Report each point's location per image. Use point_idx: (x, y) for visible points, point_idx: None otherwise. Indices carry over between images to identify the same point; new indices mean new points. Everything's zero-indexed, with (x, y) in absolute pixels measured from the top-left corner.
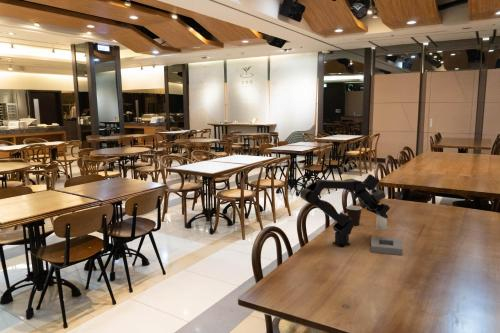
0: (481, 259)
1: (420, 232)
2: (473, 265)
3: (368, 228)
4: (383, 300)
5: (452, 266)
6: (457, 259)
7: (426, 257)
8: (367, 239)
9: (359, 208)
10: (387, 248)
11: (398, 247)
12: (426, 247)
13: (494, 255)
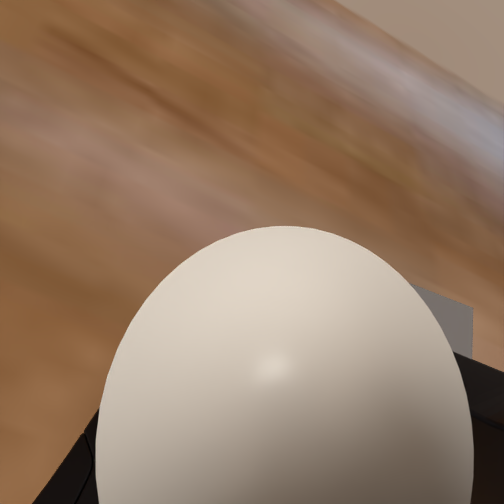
0: (428, 82)
1: (163, 100)
2: (476, 125)
3: (5, 342)
4: None
5: (499, 183)
6: (441, 138)
7: (444, 223)
8: None
9: None
10: None
11: (455, 319)
12: (344, 171)
13: (394, 38)
